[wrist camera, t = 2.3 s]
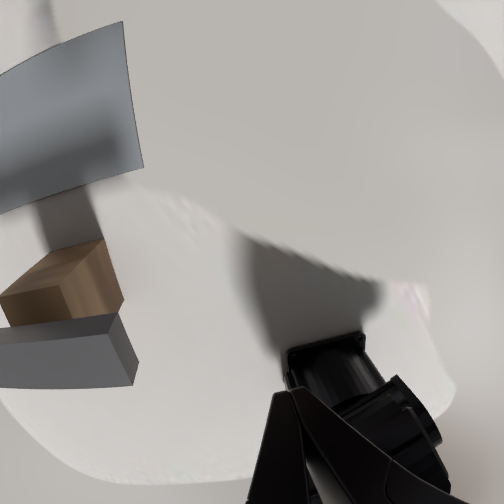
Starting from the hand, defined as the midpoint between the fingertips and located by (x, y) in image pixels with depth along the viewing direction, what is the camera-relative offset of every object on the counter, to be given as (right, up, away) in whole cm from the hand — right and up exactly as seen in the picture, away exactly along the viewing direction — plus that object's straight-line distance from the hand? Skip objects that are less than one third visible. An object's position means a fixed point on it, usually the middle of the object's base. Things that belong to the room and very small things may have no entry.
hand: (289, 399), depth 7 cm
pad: (-14, +12, +8) cm, 20 cm away
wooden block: (-12, +2, +12) cm, 17 cm away
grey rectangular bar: (-11, -1, +4) cm, 12 cm away
